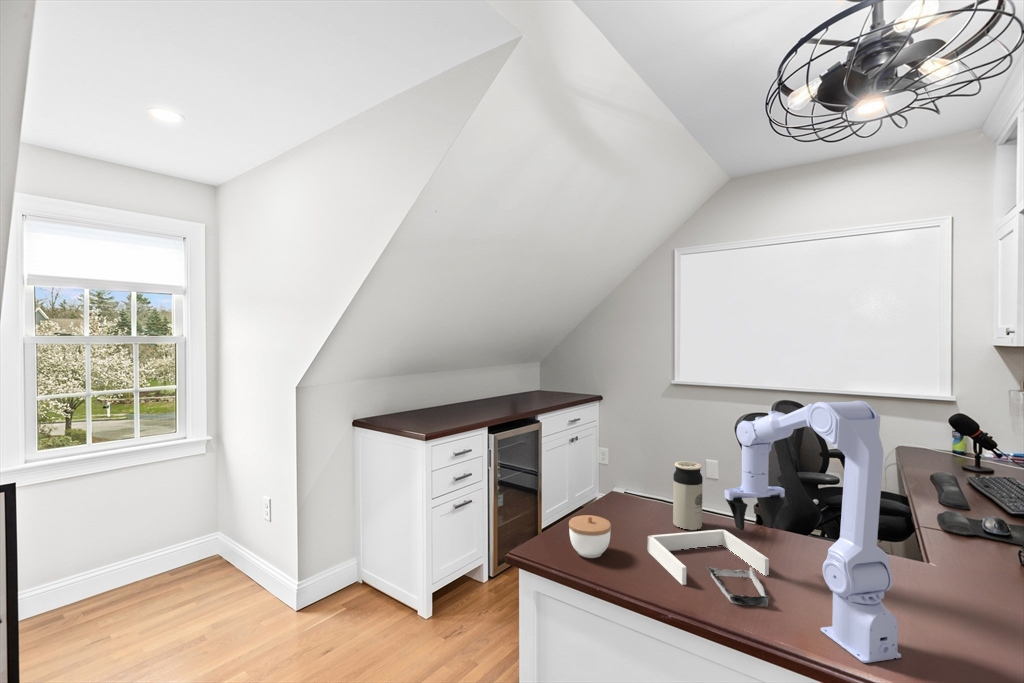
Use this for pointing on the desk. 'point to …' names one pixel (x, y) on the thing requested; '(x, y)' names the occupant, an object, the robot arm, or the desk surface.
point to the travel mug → (687, 495)
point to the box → (678, 541)
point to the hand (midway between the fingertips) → (754, 527)
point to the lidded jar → (589, 535)
